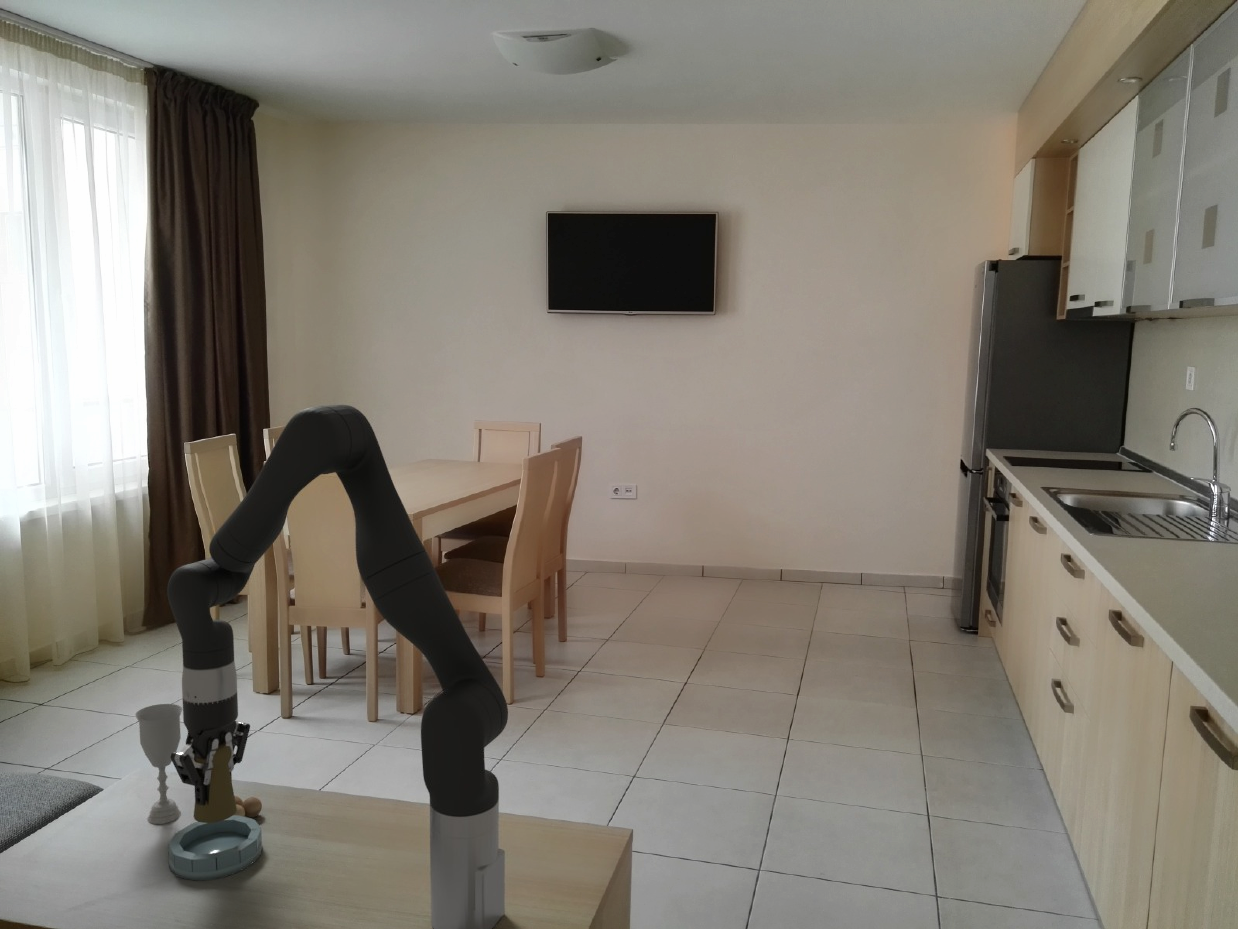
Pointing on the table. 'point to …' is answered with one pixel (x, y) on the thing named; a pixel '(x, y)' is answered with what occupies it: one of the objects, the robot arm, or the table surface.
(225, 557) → the robot arm
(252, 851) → the dish
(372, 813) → the table surface
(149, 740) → the chalice
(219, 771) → the cork
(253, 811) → the bead pile
